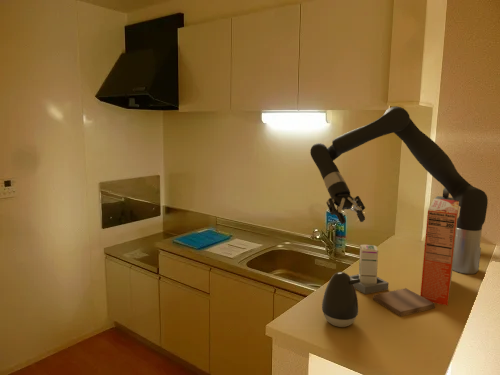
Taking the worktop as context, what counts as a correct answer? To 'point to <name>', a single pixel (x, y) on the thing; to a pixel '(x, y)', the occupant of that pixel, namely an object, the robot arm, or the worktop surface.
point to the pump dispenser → (340, 300)
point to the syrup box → (368, 264)
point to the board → (403, 302)
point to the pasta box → (439, 250)
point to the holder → (372, 288)
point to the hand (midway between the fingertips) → (353, 222)
